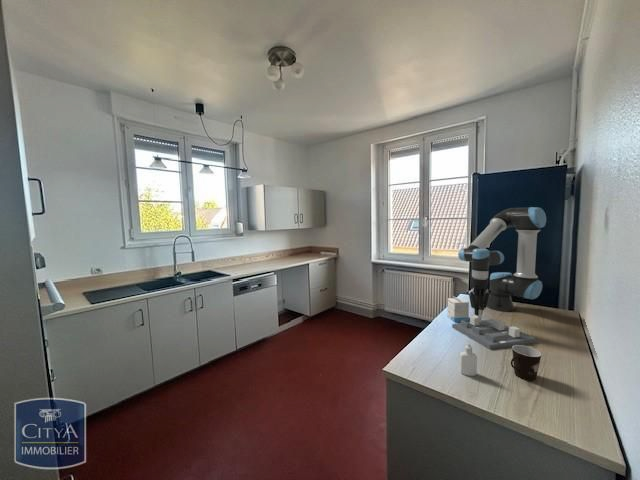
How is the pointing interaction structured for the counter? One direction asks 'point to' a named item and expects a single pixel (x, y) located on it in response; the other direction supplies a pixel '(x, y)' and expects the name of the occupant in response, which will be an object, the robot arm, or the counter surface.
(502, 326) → the tab
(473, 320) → the tab
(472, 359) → the eye dropper bottle
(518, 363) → the coffee mug
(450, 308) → the ink box
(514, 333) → the tab
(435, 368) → the counter surface
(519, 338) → the switch board
